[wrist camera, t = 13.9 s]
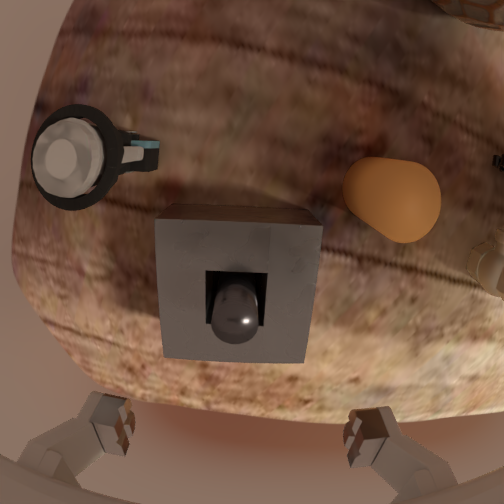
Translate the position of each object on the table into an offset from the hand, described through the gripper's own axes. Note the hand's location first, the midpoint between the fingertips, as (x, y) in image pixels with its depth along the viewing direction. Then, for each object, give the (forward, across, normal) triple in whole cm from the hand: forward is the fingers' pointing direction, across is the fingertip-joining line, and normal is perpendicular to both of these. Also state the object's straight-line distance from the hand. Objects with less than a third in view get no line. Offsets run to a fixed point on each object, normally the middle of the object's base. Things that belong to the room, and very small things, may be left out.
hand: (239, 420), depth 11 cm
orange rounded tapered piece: (+16, -9, -7) cm, 19 cm away
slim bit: (+15, +1, 0) cm, 15 cm away
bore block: (+15, +1, 0) cm, 15 cm away
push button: (+15, +10, -9) cm, 20 cm away
